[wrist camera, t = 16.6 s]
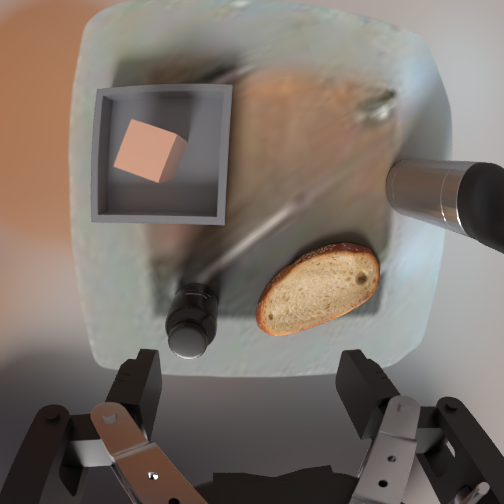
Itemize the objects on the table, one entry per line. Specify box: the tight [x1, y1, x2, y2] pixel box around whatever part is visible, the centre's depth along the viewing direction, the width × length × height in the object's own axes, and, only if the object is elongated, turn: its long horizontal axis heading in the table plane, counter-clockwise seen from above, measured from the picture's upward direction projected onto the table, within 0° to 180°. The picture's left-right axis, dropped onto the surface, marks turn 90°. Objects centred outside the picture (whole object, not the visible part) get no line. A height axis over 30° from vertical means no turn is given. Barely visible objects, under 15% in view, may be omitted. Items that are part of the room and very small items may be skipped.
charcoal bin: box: [91, 84, 233, 225], centre depth 38 cm, size 18×18×5 cm
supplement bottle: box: [165, 283, 218, 359], centre depth 41 cm, size 7×7×12 cm
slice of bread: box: [256, 243, 380, 336], centre depth 47 cm, size 18×18×4 cm
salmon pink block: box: [113, 119, 188, 183], centre depth 35 cm, size 6×6×10 cm
